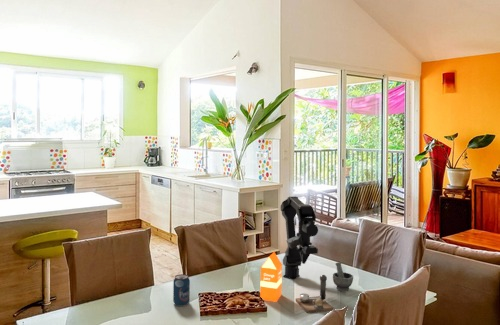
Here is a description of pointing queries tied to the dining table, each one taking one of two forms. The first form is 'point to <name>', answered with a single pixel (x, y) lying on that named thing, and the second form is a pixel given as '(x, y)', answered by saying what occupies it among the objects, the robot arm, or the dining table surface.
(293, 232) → the robot arm
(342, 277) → the mortar and pestle
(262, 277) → the orange juice
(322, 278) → the lever
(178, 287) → the soda can
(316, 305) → the base
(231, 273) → the dining table surface
